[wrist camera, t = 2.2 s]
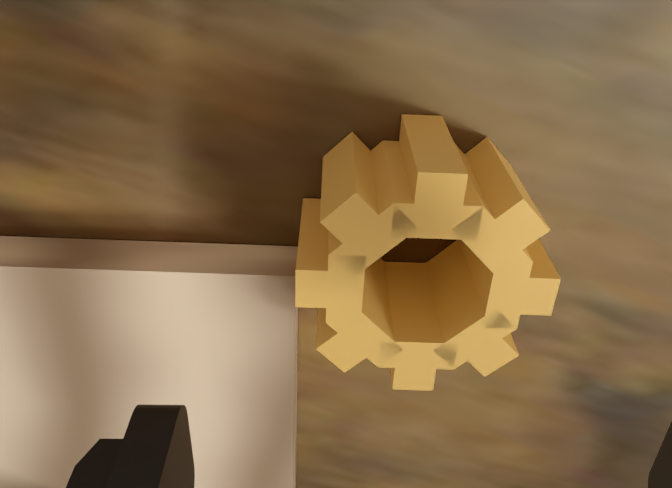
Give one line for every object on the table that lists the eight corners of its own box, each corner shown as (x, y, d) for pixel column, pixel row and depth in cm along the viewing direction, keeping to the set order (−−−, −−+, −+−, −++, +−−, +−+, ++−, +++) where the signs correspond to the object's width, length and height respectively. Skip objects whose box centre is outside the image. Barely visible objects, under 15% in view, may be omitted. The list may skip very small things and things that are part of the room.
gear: (538, 119, 15) (588, 178, 12) (497, 308, 18) (529, 393, 15) (304, 110, 15) (296, 167, 12) (301, 302, 18) (294, 386, 15)
